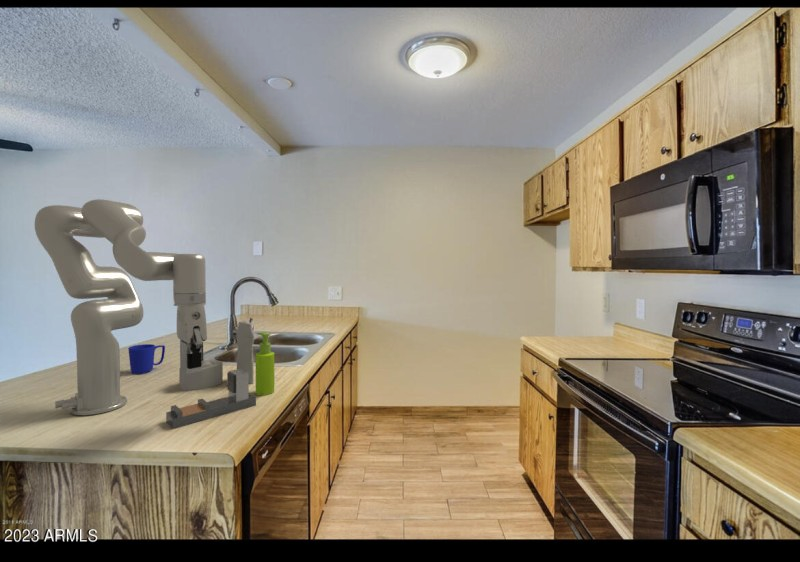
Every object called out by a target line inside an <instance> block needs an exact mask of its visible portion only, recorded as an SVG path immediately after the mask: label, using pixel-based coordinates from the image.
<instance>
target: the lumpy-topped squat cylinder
mask: <svg viewBox="0 0 800 562" xmlns="http://www.w3.org/2000/svg"><path fill="white" fill-rule="evenodd" d="M223 364H224V363H223V362H222V361H220V360H218V359H215V358H212V357H206V358H203V361H202V371H200V372H195V373H189V374H186V373H185V372H183V371H182V370H180V368H179V378H178V379H179V390H180V391H182V392H183V391H190V392H191V391H199V390H200V391H201V390H204V389H209V388H213V387H216V386H218V385H220V384H223V382H224V379H223V376H224V375H223V374H224V373H223V372H224V371H223V370H224V368H223Z"/></svg>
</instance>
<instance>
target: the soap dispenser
mask: <svg viewBox="0 0 800 562" xmlns="http://www.w3.org/2000/svg"><path fill="white" fill-rule="evenodd" d="M256 335H260V336H262V342H259V352H257V353H255V395H257V396H268V395H271V394H273V393H275V352H274V351H271V346H272V345H271V344H272V343H271V342H269V337H270V336H271V334H270V333H269V332H266V331H262V332H261V331H260V332H257V333H256Z"/></svg>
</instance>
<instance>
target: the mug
mask: <svg viewBox="0 0 800 562" xmlns="http://www.w3.org/2000/svg"><path fill="white" fill-rule="evenodd" d="M158 348H161V350H162V351H161V357H160V360H159V361H158V362H156V363H155V361H154V360H155V351H156V349H158ZM127 349H128V356H129V359H128V360H129V367H130V373H132V374H134V375H140V374H141V375H142V374H147V373H150V372H152V371H153V368H154V366H159V365H161V364H162V363H163V362H164V358H165V354H166V353H165V352H166V345H163V344H162V345H161V344H160V345H159V344H158V345H154V344H149V343H145V344H137V345H132V346H129V347H128V348H127Z"/></svg>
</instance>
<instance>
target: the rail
mask: <svg viewBox="0 0 800 562" xmlns="http://www.w3.org/2000/svg"><path fill="white" fill-rule="evenodd" d="M226 374H227V378H226V379H227V380H226V383H227V385H226V390H227V391H228V396H226V397H221V398H218V399H214V400H209V401H206V400H205V399H203V398H198V399H197V403H195V404H190V405H187V406H186V405H185V406H183V407H182V406H181V407H178V406H177V405H176V404H175V405H171V406H170V411H167V412H166V413H165V416H166V417H165V419H166V420H165V421H166V423H167V424H168V425H169V427H170V428H172V430H174V429H177V428H180V427H184V426H188V425H192V424H195V423H198V422H202V421H206V420H209V419H213V418H216V417H219V416H220V417H221V416H223V415H226V414H230V413H233V412H237V411H240V410H243V409H247V408H250V407H255V406H257V397H256V396H255V395H253V394H251V393H249V385H250V384H249V373H248V372H246V371H244V370H242V369H237V368H236V369H231V370H229V371H228V372H227V373H226Z"/></svg>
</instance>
